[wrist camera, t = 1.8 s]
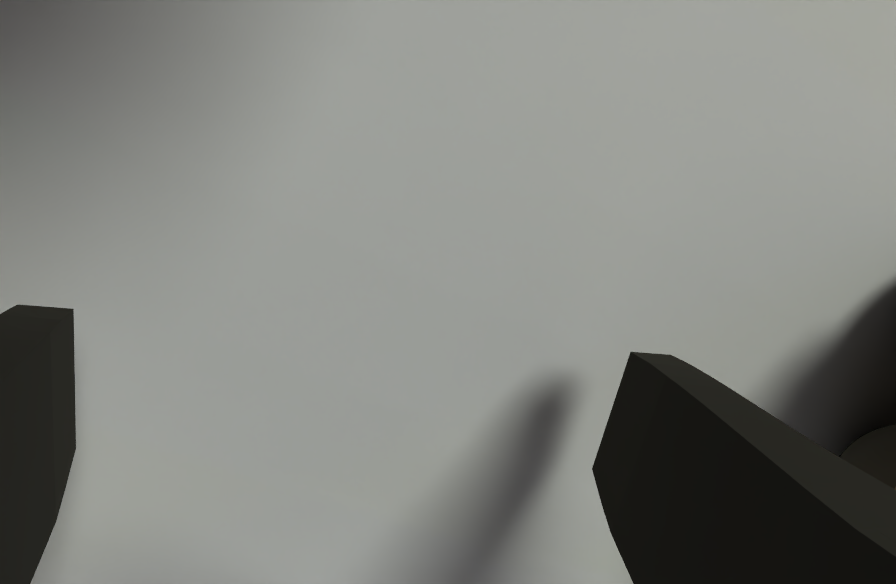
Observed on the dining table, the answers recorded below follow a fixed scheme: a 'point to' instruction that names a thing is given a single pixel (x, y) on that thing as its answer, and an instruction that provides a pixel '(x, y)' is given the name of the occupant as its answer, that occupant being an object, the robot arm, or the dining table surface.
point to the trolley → (875, 454)
